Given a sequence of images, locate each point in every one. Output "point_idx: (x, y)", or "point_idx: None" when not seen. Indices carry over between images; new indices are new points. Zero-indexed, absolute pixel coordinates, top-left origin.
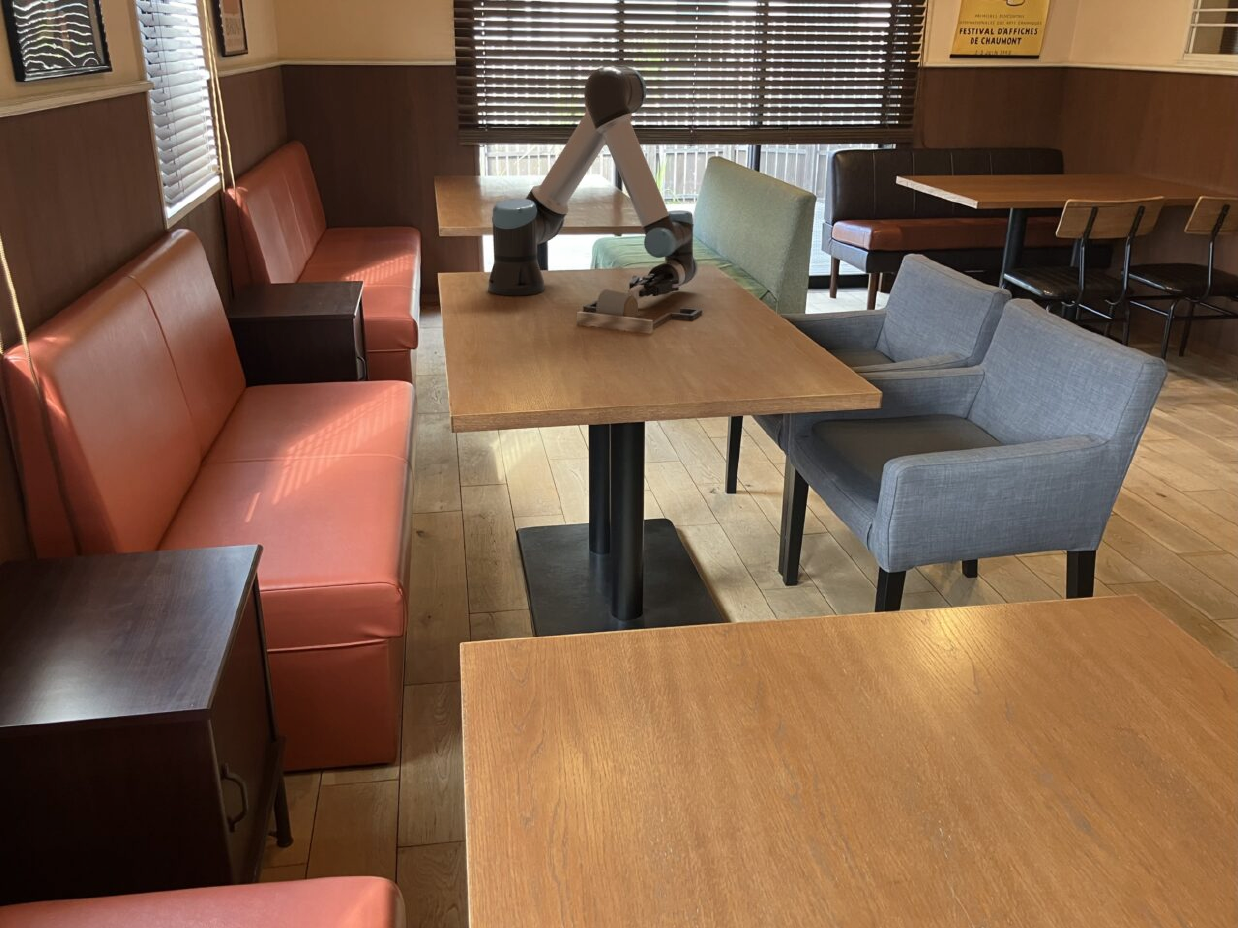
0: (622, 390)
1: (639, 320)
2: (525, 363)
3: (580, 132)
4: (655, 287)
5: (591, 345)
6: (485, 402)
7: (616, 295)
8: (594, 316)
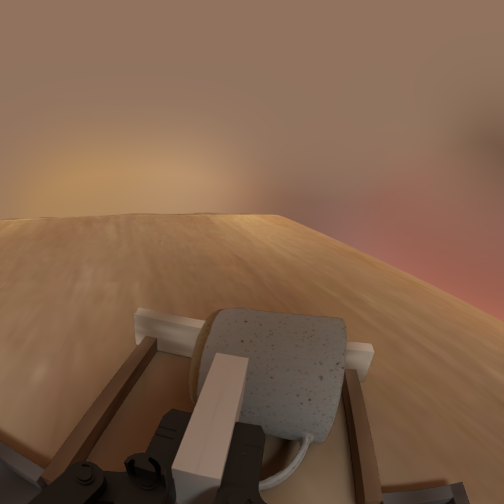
0: (179, 223)
1: (171, 316)
2: (302, 252)
3: None
4: (83, 466)
5: (254, 287)
6: (278, 220)
7: (272, 312)
8: None
